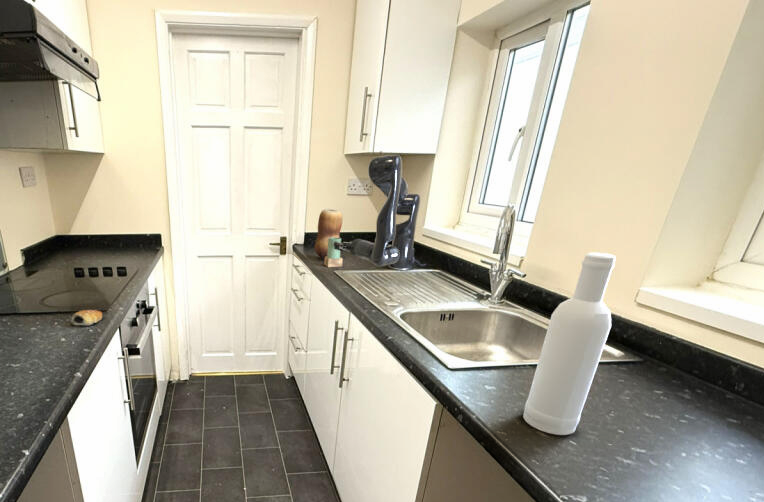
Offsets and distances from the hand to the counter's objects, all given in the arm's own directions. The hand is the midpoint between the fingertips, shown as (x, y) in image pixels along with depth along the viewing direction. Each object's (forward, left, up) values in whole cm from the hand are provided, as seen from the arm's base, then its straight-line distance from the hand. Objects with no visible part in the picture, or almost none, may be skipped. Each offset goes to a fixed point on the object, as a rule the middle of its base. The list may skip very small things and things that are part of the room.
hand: (343, 243), depth 189 cm
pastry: (+102, +60, -12) cm, 119 cm away
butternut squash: (-1, -23, -12) cm, 26 cm away
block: (+1, -7, -12) cm, 14 cm away
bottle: (+8, +130, -12) cm, 130 cm away
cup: (+1, -7, -8) cm, 11 cm away
